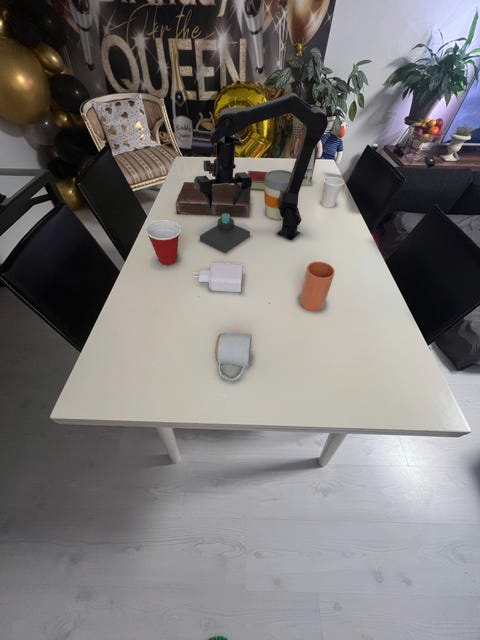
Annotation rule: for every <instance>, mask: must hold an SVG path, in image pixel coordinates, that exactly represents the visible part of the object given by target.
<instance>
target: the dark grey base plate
mask: <svg viewBox="0 0 480 640" xmlns="http://www.w3.org/2000/svg"><path fill="white" fill-rule="evenodd" d="M250 237H251V231H249V230H248V229H246V228H243V227H240V226H239V225H237V224H235V220H234V219H233V217H230V223H222V216H220V218H218V219H217V225H215V226H214V227H212V228H209V230H206V231H205V232H204V233H202V234H200V235H199V241H200V242H201V243H204V244H205V245H207V246H210V247H211V248H214V249H216V250H217V251H219V252H221V253H223V254H227V253H228V252H229V251H232V250H233V249H234V248H236V247H237V246H239V245H240V244H242V243H243V242H245V241H246V240H247V239H249V238H250Z"/></svg>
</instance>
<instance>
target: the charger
mask: <svg viewBox="0 0 480 640" xmlns="http://www.w3.org/2000/svg"><path fill="white" fill-rule="evenodd" d="M243 268H244V263H237V262H235V263H234V262H219V261H215V262H213V263H211V265H210V269H207V268H206V269H205V268H201V269H199V272H198V271H193V274H196V275H192V278H198V282H199V283H208V288H209V289H210V290H211V291H215V292H232V293H241V292H242V283H243V272H244V271H243V270H244V269H243Z"/></svg>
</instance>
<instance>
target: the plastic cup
mask: <svg viewBox="0 0 480 640" xmlns="http://www.w3.org/2000/svg"><path fill="white" fill-rule="evenodd" d="M144 231H145V234H146V235H147V237H148V238H149V241H150V243H151V245H152V248H153V251H154V252H155V255H156V257H157V259H158V261H159V263H160V264H161V265H164V266H170V265H174V264H175V263H176V262H177V260H178V251H179V237H180V234H181V231H182V227H181V225H180V224H178V222H176V221H173V220H170V219H155V220H153V221H149V222H148V224H146V225H145V227H144Z"/></svg>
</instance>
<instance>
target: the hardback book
mask: <svg viewBox="0 0 480 640" xmlns="http://www.w3.org/2000/svg"><path fill="white" fill-rule="evenodd" d="M211 191H212V192H213V195H212V207H211V209H210V208H209V206H208V203H207V200H206V197H205V194H203V193H202V192H200V191H199V190H198V189H197V188H196V186H195V185H194V181H183V183H182V186H181V189H180V191H179V193H178V196H177V198H176V200H175V212H176V214H177V215H192V216H211V217H212V216H213V217H222V214H225V213H227V214H229V215H230V218H250V217H249V216H250V204H251V191H252V190H251V187H248V189H247V190H245V191H244V193H243V194H242V195H241V197H240V198H239V200H238V201H237V203H236V205H233V195H234V184H225V185H215V186H212V189H211Z"/></svg>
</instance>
